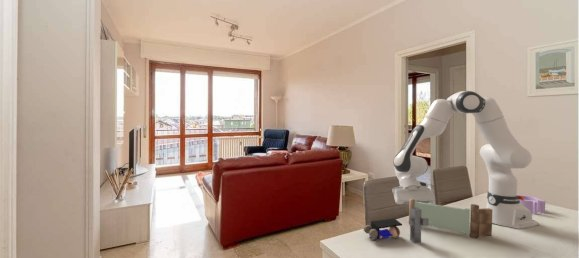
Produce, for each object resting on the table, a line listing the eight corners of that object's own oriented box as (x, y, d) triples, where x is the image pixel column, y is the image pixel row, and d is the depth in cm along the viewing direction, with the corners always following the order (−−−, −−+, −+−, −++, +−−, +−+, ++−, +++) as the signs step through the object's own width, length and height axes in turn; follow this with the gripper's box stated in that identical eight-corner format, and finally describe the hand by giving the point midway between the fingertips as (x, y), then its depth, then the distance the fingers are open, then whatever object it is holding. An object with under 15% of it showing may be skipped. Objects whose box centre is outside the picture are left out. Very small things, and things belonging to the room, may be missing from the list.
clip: (494, 203, 159) (494, 192, 159) (508, 202, 163) (509, 191, 162) (532, 215, 140) (533, 202, 140) (548, 213, 144) (548, 200, 143)
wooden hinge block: (487, 234, 118) (487, 203, 117) (493, 237, 115) (494, 205, 114) (468, 235, 116) (469, 204, 116) (473, 238, 113) (474, 206, 113)
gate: (468, 233, 117) (469, 207, 116) (469, 235, 115) (469, 208, 114) (409, 222, 130) (409, 198, 129) (408, 224, 127) (408, 199, 127)
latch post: (421, 239, 113) (422, 207, 112) (428, 243, 109) (428, 210, 108) (410, 240, 112) (410, 207, 111) (415, 244, 108) (416, 211, 107)
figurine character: (372, 247, 109) (404, 239, 112) (370, 229, 109) (402, 222, 112) (364, 239, 116) (394, 232, 119) (362, 222, 115) (393, 216, 118)
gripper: (392, 184, 138) (401, 208, 129) (430, 183, 139) (441, 207, 130) (389, 190, 143) (397, 214, 133) (425, 189, 144) (436, 213, 135)
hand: (419, 211), depth 132 cm, fingers closed
